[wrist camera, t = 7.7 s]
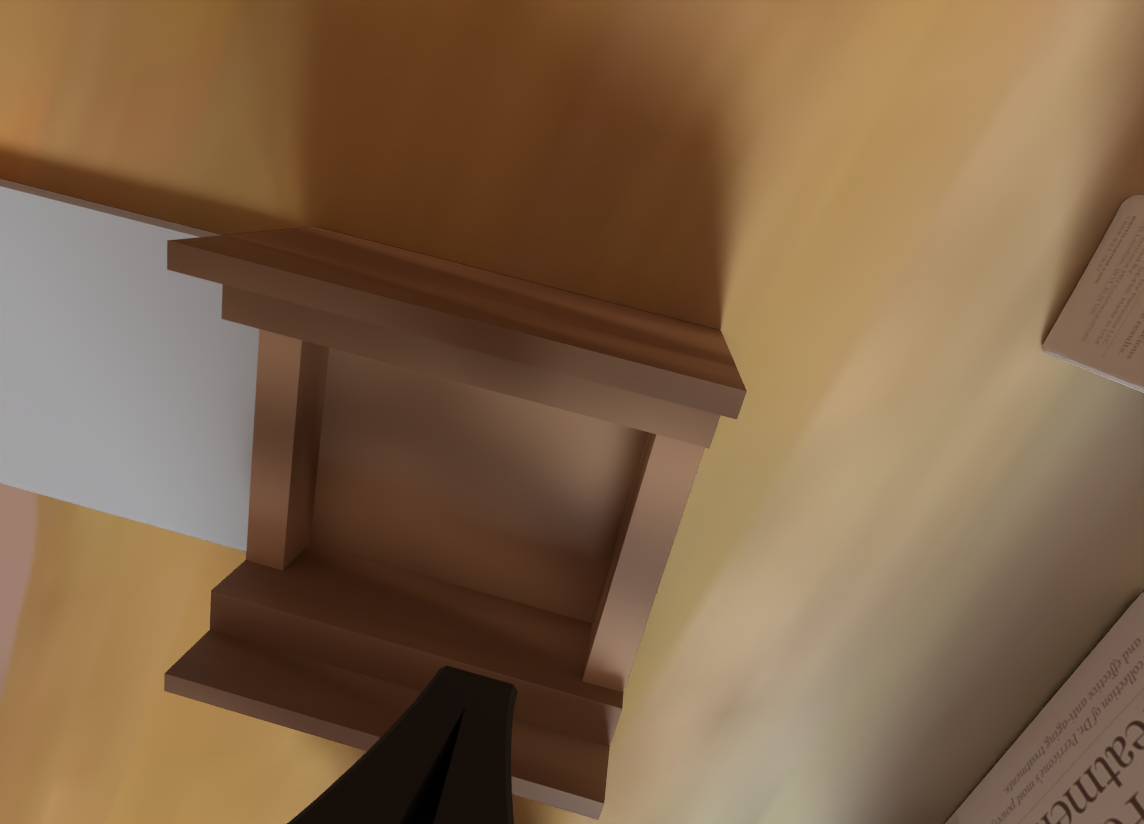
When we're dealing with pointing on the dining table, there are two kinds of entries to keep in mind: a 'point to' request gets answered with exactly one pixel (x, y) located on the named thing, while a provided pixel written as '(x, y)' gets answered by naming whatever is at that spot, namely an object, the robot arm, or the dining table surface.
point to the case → (449, 494)
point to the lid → (120, 370)
